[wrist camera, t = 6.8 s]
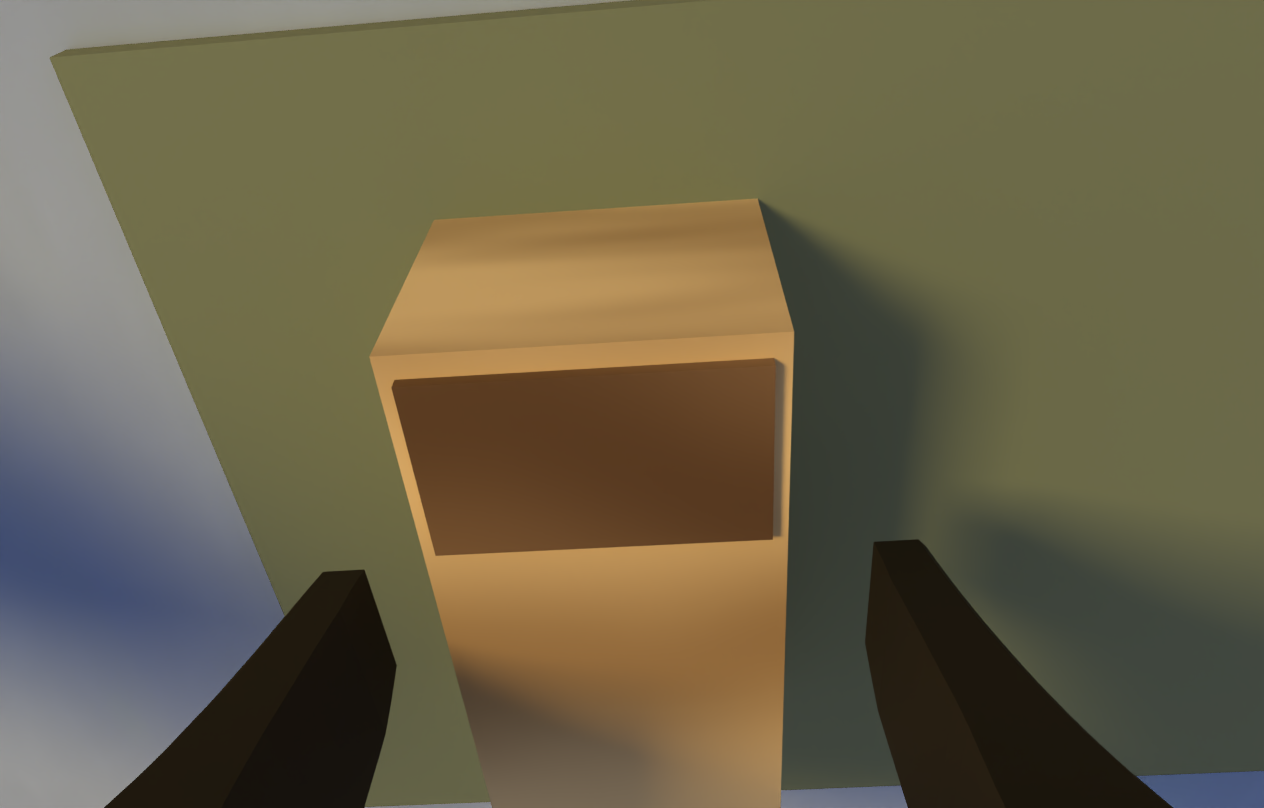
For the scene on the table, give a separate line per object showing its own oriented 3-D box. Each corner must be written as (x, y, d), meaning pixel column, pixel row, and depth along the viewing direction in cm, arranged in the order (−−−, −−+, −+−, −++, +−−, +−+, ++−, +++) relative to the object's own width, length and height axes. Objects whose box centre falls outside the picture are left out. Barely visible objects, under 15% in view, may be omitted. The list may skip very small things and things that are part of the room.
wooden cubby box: (756, 686, 18) (779, 875, 15) (532, 694, 18) (509, 883, 15) (757, 198, 12) (796, 339, 9) (434, 220, 13) (365, 364, 9)
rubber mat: (2103, -128, 10) (2150, -125, 10) (1487, 744, 19) (1502, 761, 19) (66, 50, 12) (49, 57, 11) (369, 790, 21) (364, 807, 20)
